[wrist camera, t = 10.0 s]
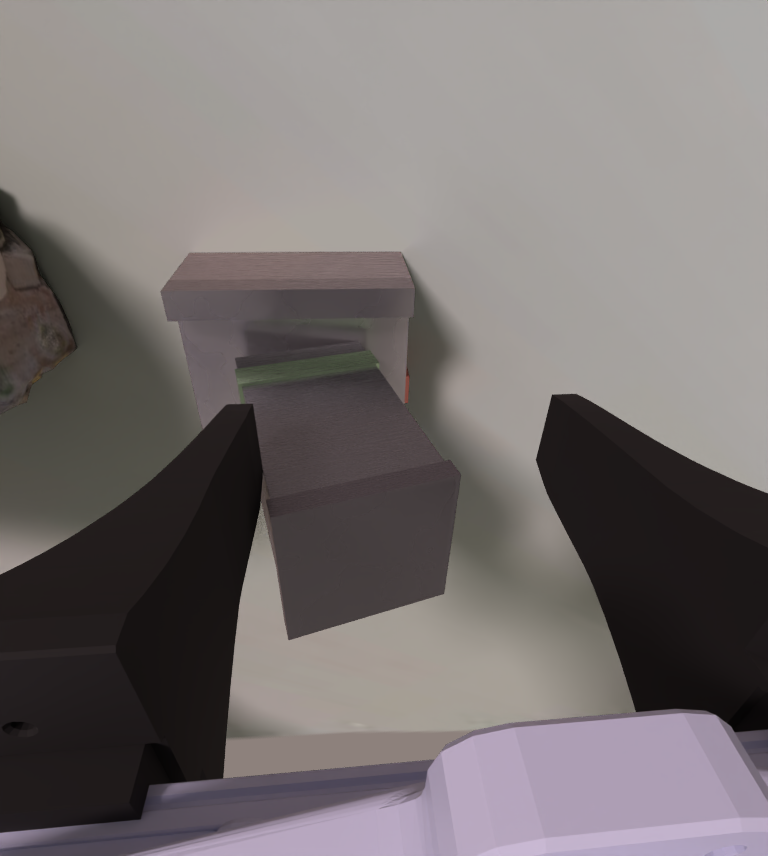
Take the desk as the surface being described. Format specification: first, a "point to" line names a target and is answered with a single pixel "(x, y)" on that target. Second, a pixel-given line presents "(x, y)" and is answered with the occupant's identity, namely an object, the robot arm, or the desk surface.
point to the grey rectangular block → (346, 486)
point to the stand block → (287, 312)
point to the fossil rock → (27, 323)
